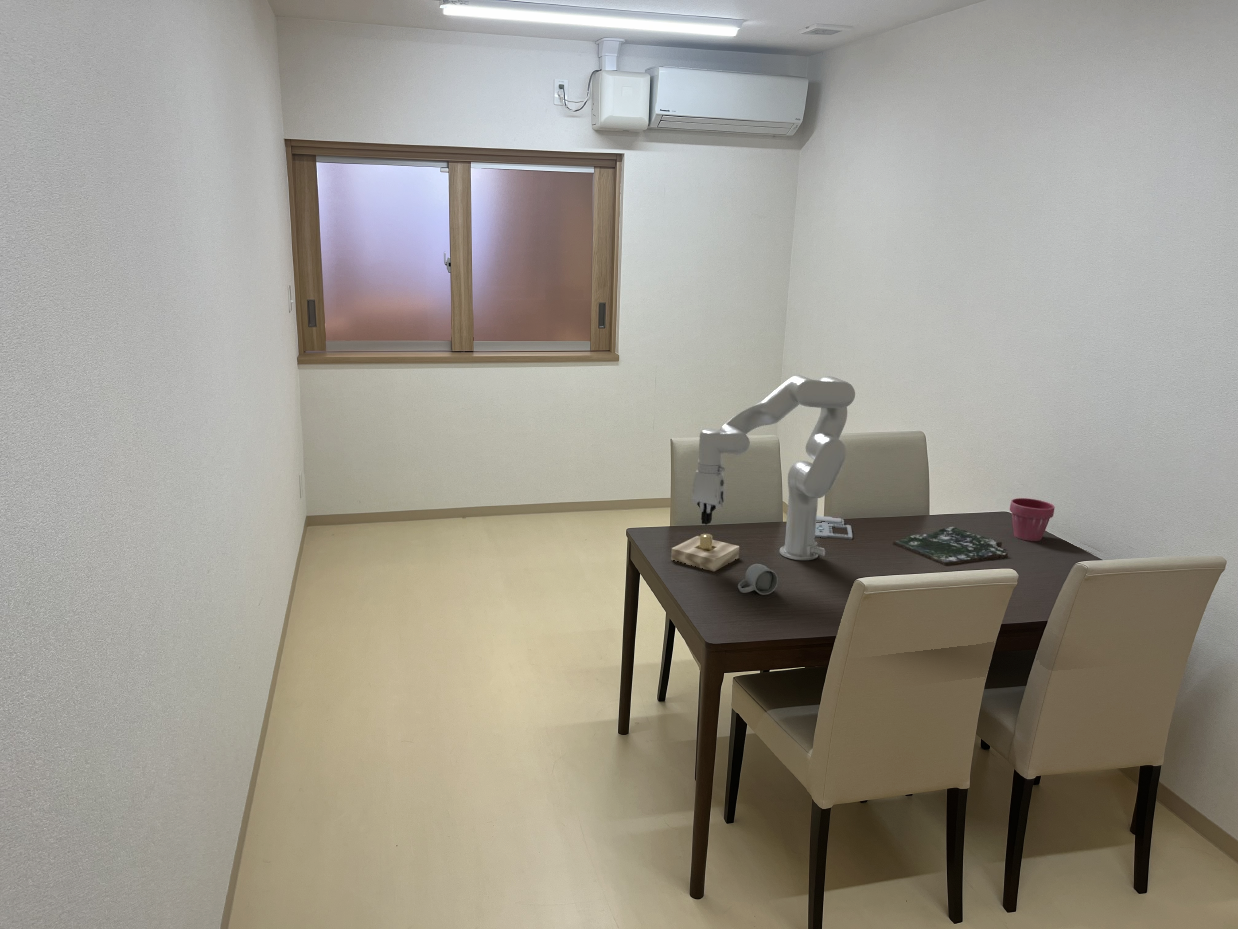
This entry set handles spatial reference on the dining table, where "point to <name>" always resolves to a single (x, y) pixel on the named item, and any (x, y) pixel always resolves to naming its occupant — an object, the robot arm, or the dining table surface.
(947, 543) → the topographical map
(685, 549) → the block
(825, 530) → the office telephone
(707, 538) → the brass pin
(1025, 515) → the plant pot
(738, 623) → the dining table surface
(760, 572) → the ceramic mug
